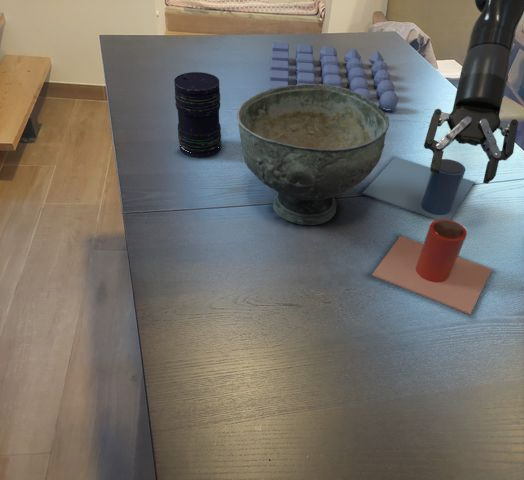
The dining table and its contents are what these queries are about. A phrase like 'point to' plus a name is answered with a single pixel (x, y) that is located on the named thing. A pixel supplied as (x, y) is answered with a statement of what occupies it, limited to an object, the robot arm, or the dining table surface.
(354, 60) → the blocks
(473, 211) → the dining table surface
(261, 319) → the dining table surface
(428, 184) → the blue pot
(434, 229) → the red pot
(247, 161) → the decorative bowl
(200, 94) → the storage jar
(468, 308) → the rose mat
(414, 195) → the blue mat
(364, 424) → the dining table surface
